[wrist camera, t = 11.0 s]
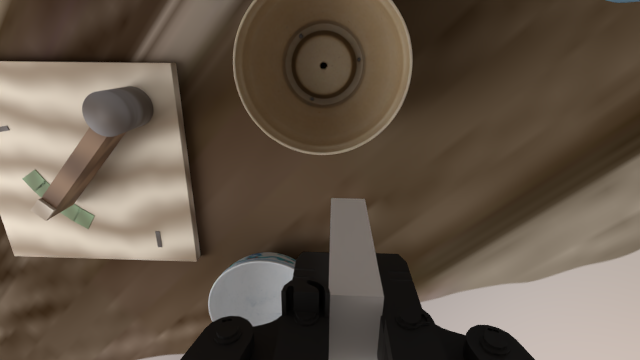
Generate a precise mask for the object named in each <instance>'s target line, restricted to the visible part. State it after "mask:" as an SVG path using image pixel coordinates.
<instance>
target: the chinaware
mask: <svg viewBox="0 0 640 360" xmlns="http://www.w3.org/2000/svg"><path fill="white" fill-rule="evenodd" d="M295 262H296V260H295V259H293V258H291V257H289V256H286V255H283V254H279V253H273V252H263V253H257V254H252V255H249V256H247V257H244V258H242V259H240V260H239V261H237V262H235V263H234V264H232V265H231V266H230V267H229V268H227V269H226V270H225V271H224V272H223V273H222V274H221V275H220V276H219V278H218V279H217V280H216V282H215V283H214V285H213V287H212V289H211V291H210V295H209V301H208V307H209V313H210V317H211V319H212V322H213V321H215V320H217V319H220V318H222V317H227V316H240V317H243V318H245V319H247V320H248V321H249V322H250V323H251V324H252V326H258V325H263V324H266V323H269V322H272V321H274V320H276V319H278V318H279V317H280V316H281V315H282V303H281V291H282V289H283V287H284V285H285V284H287V283H288V282H289V281H291V280H292V278H293V273H294V267H295Z"/></svg>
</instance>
